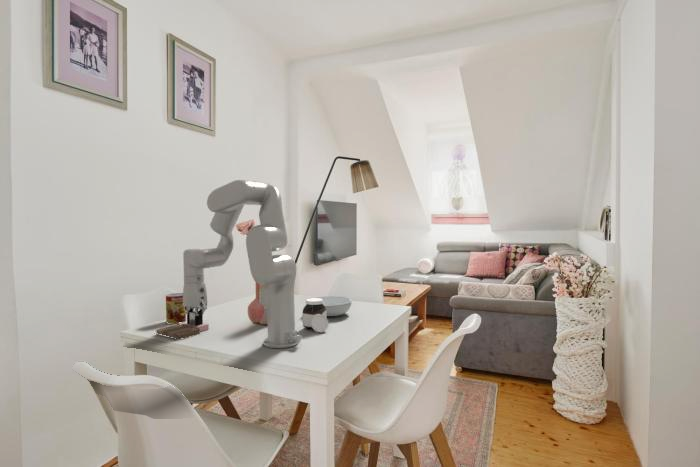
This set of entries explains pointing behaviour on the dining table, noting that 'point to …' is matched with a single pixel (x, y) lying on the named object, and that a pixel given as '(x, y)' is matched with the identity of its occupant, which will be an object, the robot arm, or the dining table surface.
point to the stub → (192, 322)
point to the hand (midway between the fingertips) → (194, 323)
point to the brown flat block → (178, 331)
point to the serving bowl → (336, 304)
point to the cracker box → (263, 302)
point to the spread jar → (315, 315)
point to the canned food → (175, 308)
